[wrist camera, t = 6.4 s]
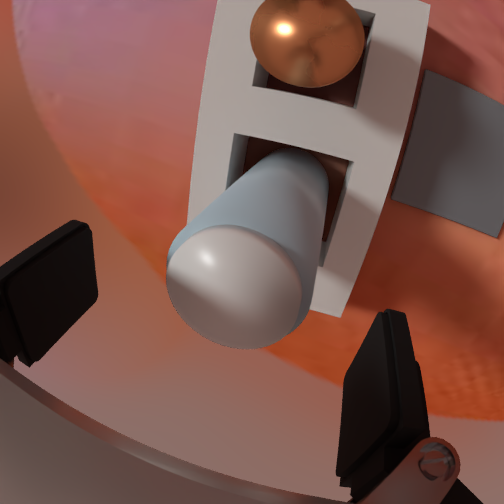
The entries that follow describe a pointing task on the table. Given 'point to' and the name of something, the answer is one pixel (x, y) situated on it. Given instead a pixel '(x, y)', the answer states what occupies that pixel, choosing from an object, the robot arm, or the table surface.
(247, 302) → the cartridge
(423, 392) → the robot arm
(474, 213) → the mat
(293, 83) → the plunger
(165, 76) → the table surface
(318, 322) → the table surface
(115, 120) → the table surface
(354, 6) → the housing
